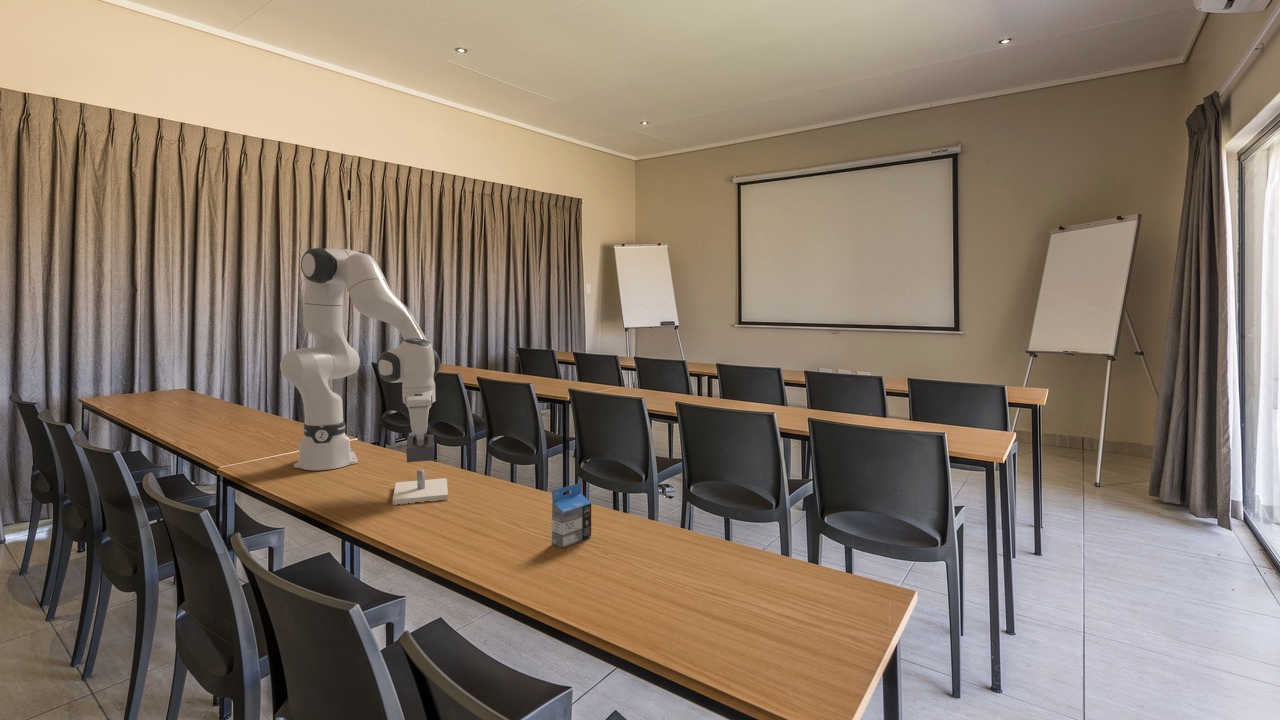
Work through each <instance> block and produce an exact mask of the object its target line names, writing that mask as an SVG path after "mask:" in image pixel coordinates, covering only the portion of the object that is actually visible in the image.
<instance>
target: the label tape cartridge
mask: <svg viewBox="0 0 1280 720" xmlns="http://www.w3.org/2000/svg"><path fill="white" fill-rule="evenodd" d="M581 486H582V484H581V482H579V483H575V484H571V485H567V486H565V487H561V488H558V489H554V490H551V500H552V502H551V504H552V506H551V509H552V510H551V511H552V513H551V521H552V522H551V544H552V545H553V546H555V547H558V548H560V549H565V548H568V547H570V546H572V545H574V544H575V545H576V544H578V543H580V542H583V541H585V540H587V539H590V538H592V502H591V501H590V500H588V498H586V496H585V495H583V493H582V488H581ZM566 491H567V492H570V493H567V494H564V493H566Z"/></svg>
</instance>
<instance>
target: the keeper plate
mask: <svg viewBox="0 0 1280 720" xmlns="http://www.w3.org/2000/svg"><path fill="white" fill-rule="evenodd" d="M425 478H426V476H425V469H418V470H417V471H416V480H413V481H412V480H409V481H408V480H407V481H397V482H395V487H394V491H393V496H392V506H398V505H397V504H400V505H408V503H410V504H416V503H415V502H421V503H425V502H424V501H431V502H439V501H438V500H442V501H449V493H448V492H449V491H448V478H444V477H443V478H433V479H425Z"/></svg>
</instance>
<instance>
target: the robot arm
mask: <svg viewBox="0 0 1280 720" xmlns="http://www.w3.org/2000/svg"><path fill="white" fill-rule="evenodd" d="M300 267H301V272H302V274H303V276H304V278H305V279H306V282H305V287H304V292H303V293H304V294H303V320H302V321H303V322H302V323H303V327H304V329H305V331H306V332H308V333H310V334H312V335H313V336H314V338H315V340H316V346H315V347H314V346H313V347H302V348H301V347H300V348H297V349H294V350H290V351H288V352H286V353H285V354H283V356H282V358H281V360H280V363H279V364H280V365H279V369H280V372H281V374H282V376H283V377H284V379H286V380H287V381H288V382H290V383H291V384H292V385H294V386H295V388H296V389H297V390H298V392H299V394H300V396H301V399H302V403H303V413H304V423H303V430H302V431H303V435H304V437H303V438H302V439H301V440H300V441H299V443H298V446H299V447H298V461H296V462H295V463H294V464H293V468H295V469H302V470H303V471H304V470H306V471H327V470H328V471H329V470H334V469H339V468H343V467H347V466H351V465H354V464H358V462H359V461H358V457H357V455H356V453H355V451H354V450H353V448H352V447H351V439H350V438H349V436H347V434H346V423H345V422H346V421H345V420H344V409H343V398H342V397H341V396H340V394H338V393H336V392H334V391H332V390H331V388H330V386H329V382H328V381H331V380H335V379H342V378H346V377H348V376H351V375H354V374H355V373H357V371H358V370H359V369H360V364H361V359H360V356H359V353H358V352H357V350H356V349H355V348H354V347H352V346H351V345H350V344H349V342H348V340H347V338H346V335H345V332H344V325H343V324H344V323H343V321H344V319H343V318H344V315H343V313H344V311H343V309H344V298H343V296H344V295H343V293H344V289H345V288H346V289H347V292H348V295H349V298H350V299H351V302H352V305H353V306H354V307H355V309H356V311H358V312H359V314H361V315H363V316H365V317H367V318H370V319H375V320H378V321H380V322H384V323H387V324H389V325H391V326H393V327H395V329H397V331H398V332H399V333H400V334H401V337H402V338H403V341H402V342H401V344H400V345H398V346H397V347H394V348H391V349H388V350H385V351H383V352H382V353H381V354H380V356H379V358H378V360H377V364H376V366H377V373H378V375H379V377H380V378H381V379H382V380H383V381H385V382H387V383H390V384H391V383H392V384H393V383H396V384H397V383H402V384H401V385H402V386H401V387H402V388H401V391H402V403H403V404H405V407H407V410H408V413H409V422H410V428H411V432H412V435H413V436H414V435H416V437H417V445H418V446H420V445H424V435H427V431H428V424H429V423H428V422H429V421H428V420H429V411H430V408H432V404H433V403H435V402H436V401H437V400H436V382H435V377H436V376H437V375H438V373H439V371H440V370H441V369H440V368H441V366H442V365H441V359H440V356H439V354H438V352H437V351H436V350H435V349H434V347H433V345H432V343H431V342H430V341H428V339H427V338H426V336H425V334H424V332H423V331H422V329H421V326H420V325H419V324H418V322H417V320H416V319H415V317H414V315H413V313H412V312H411V310H410V309H409V308H408V306H407V304H405V303H404V302H402V301H401V300H400V299H399V298H398V296H396V295H395V293H394V292H393V291H392V289H391V288H390V286H389V284H388V282H387V279H386V277H385V275H384V273H383V271H382V269H381V268H380V266H379V264H378V262H377V261H376V259H375V258H374V256H373V255H372V254H370V253H367V252H365V251H361V250H358V251H357V250H352V249H348V248H322V247H314V248H310V249H308V250H306V251H305V252H304V253H303V256H302V257H301V261H300Z"/></svg>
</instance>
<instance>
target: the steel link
mask: <svg viewBox="0 0 1280 720" xmlns="http://www.w3.org/2000/svg"><path fill="white" fill-rule="evenodd" d="M434 435H435V434H434V433H431V434H424V445H420V446H418V445H417V437H416V435H414V434H413V435H407V438H406V439H407V440H406V446H405V447H406V449H405V450H406V451H405V453H406V463H417V462H418V463H419V462H429V461H435V443H434V442H435V440H434V439H435V438H434Z"/></svg>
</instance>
